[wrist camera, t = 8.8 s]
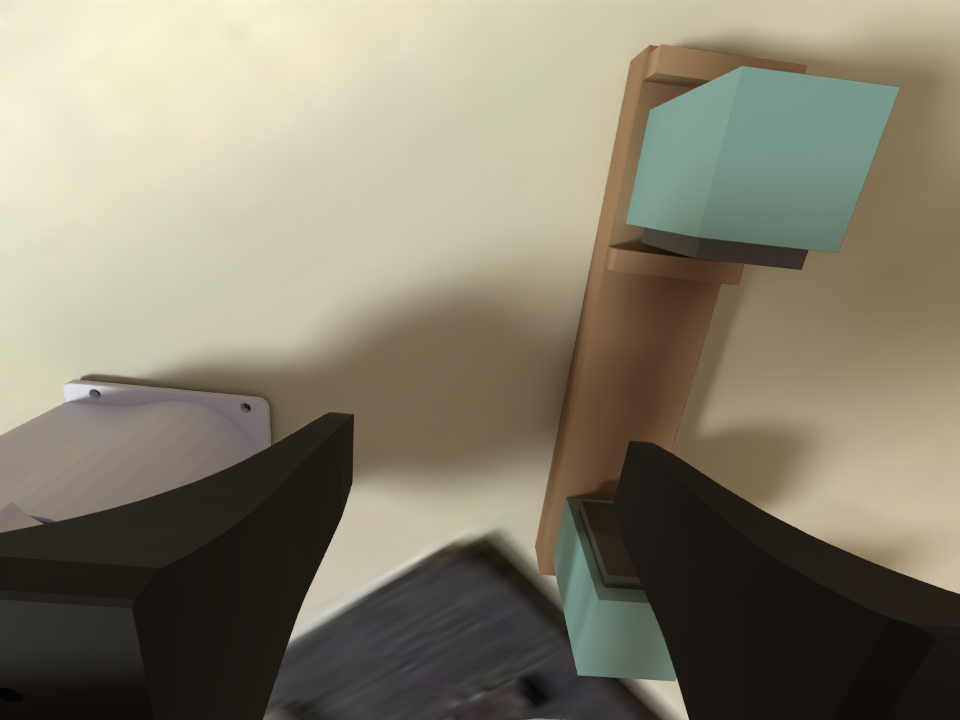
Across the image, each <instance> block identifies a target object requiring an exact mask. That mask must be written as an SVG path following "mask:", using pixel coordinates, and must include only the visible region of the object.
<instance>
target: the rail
mask: <svg viewBox="0 0 960 720" xmlns="http://www.w3.org/2000/svg"><path fill="white" fill-rule="evenodd" d="M742 66H746V67H753V68H761V69H768V70H776V71H783V72H790V73H798V74H805V70H806V67H807V65H800V64H793V63H786V62H779V61H772V60H765V59H758V58H751V57H744V56H738V55H731V54H724V53H717V52H710V51H703V50H696V49H689V48H682V47H675V46H668V45H660V46H652V45H649V46H648V47H647V48H646V49H645V50H643V51H642V52H641V53H640V54H639V55H637V56H636V57H635V58H634V59H633V60H632V61H631V63H630V68H629V73H628V78H627V83H626V88H625V93H624V99H623V104H622V109H621V114H620V119H619V124H618V129H617V134H616V139H615V144H614V149H613V154H612V159H611V165H610V170H609V175H608V180H607V185H606V190H605V195H604V200H603V205H602V210H601V215H600V220H599V225H598V230H597V236H596V241H595V246H594V251H593V256H592V261H591V266H590V271H589V276H588V281H587V286H586V291H585V296H584V302H583V307H582V312H581V317H580V322H579V327H578V332H577V337H576V342H575V347H574V352H573V357H572V362H571V368H570V373H569V378H568V383H567V388H566V393H565V398H564V403H563V408H562V413H561V418H560V423H559V428H558V434H557V439H556V444H555V449H554V454H553V459H552V464H551V469H550V474H549V479H548V484H547V489H546V494H545V500H544V505H543V510H542V515H541V520H540V525H539V530H538V535H537V540H536V545H535V549H536V554H537V560H538V565H539V571H540V575H554V576H556V578H557V583H558V587H559V592H560V596H561V601H562V605H563V610H564V614H565V619H566V623H567V628H568V633H569V637H570V642H571V646H572V651H573V655H574V660H575V664H576V669H577V673H578V675H585V676H600V677H616V678H631V679H647V680H663V681H675V680H676V674H675V671H674V667H673V664H672V661H671V658H670V655H669V652H668V649H667V646H666V643H665V640H664V637H663V634H662V632H661V629H660V627H659V624H658V622H657V619H656V617H655V615H654V612H653V610H652V608H651V605H650V603H649V601H648V599H647V596H646V594H645V592H644V589H643V587H642V585H641V583H640V580H639V578H638V576H637V573H636V571H635V569H634V567H633V564H632V562H631V559H630V557H629V555H628V552H627V550H626V548H625V545H624V543H623V540H622V537H621V534H620V530H619V527H618V524H617V520H616V516H615V512H614V508H613V502H614V498H615V494H616V490H617V486H618V483H619V479H620V475H621V471H622V467H623V463H624V460H625V456H626V452H627V448H628V444H629V440H630V441H641V442H651V443H654V444H656V445H658V446H660V447H662V448H664V449H665V450H667V451H669V452H670V453H671V449H672V446H673V443H674V439H675V436H676V433H677V429H678V426H679V422H680V419H681V416H682V412H683V409H684V406H685V402H686V399H687V396H688V392H689V389H690V386H691V382H692V379H693V376H694V372H695V369H696V366H697V362H698V359H699V356H700V352H701V349H702V346H703V342H704V339H705V336H706V332H707V329H708V326H709V322H710V319H711V316H712V312H713V309H714V306H715V302H716V299H717V296H718V292H719V289H720V285H721V284H730V285H739V281H740V278H741V275H742V272H743V269H744V264H740V263H734V262H725V261H716V260H707V259H698V258H693V257H689V256H686V255H682V254H679V253H675V252H672V251H668V250H665V249H661V248H658V247H654V246H651V245H647V244H644V243H641V242H642V237H643V233H644V228H645V227H641V226H636V225H630V224H626V221H627V216H628V212H629V207H630V202H631V197H632V193H633V188H634V183H635V178H636V173H637V169H638V164H639V159H640V154H641V150H642V145H643V140H644V135H645V131H646V126H647V121H648V116H649V111H650V110H651V109H653V108H655V107H657V106H659V105H661V104H664V103H666V102H668V101H670V100H672V99H674V98H676V97H678V96H680V95H682V94H685V93H687V92H689V91H691V90H693V89H695V88H697V87H699V86H701V85H704V84H706V83H708V82H710V81H712V80H714V79H716V78H718V77H720V76H723V75H725V74H727V73H729V72H731V71H733V70H735V69H737V68H739V67H742Z"/></svg>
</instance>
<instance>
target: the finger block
mask: <svg viewBox="0 0 960 720" xmlns="http://www.w3.org/2000/svg"><path fill="white" fill-rule="evenodd" d="M899 88H900V87H895V86H887V85H880V84H873V83H865V82H858V81H850V80H843V79H835V78H828V77H820V76H813V75H805V74H798V73H790V72H783V71H776V70H768V69H761V68H753V67H746V66H742V67H739V68H737V69H735V70H733V71H731V72H729V73H727V74H725V75H723V76H720V77H718V78H716V79H714V80H712V81H710V82H708V83H706V84H704V85H701V86H699V87H697V88H695V89H693V90H691V91H689V92H687V93H685V94H682V95H680V96H678V97H676V98H674V99H672V100H670V101H668V102H666V103H664V104H661V105H659V106H657V107H655V108H653V109H651V110H650V111H649V116H648V121H647V126H646V131H645V135H644V140H643V145H642V150H641V154H640V159H639V164H638V169H637V173H636V178H635V183H634V188H633V193H632V197H631V202H630V207H629V212H628V216H627V221H626V224H630V225H636V226H641V227H645V228H644V233H643V237H642V242H641V243H644V244H647V245H651V246H654V247H658V248H661V249H665V250H668V251H672V252H675V253H679V254H682V255H686V256H689V257H693V258H698V259H707V260H716V261H725V262H734V263H743V264H752V265H761V266H770V267H779V268H789V269H798V270H802V267H803V264H804V261H805V259H806V256H807V253H808V250H816V251H824V252H833V253H838V252H839V249H840V247H841V244H842V241H843V238H844V236H845V233H846V230H847V228H848V225H849V222H850V220H851V217H852V214H853V212H854V209H855V206H856V204H857V201H858V198H859V196H860V193H861V190H862V187H863V185H864V182H865V179H866V177H867V174H868V171H869V169H870V166H871V163H872V161H873V158H874V155H875V153H876V150H877V147H878V145H879V142H880V139H881V136H882V134H883V131H884V128H885V126H886V123H887V120H888V118H889V115H890V112H891V110H892V107H893V104H894V102H895V99H896V96H897V94H898V91H899Z"/></svg>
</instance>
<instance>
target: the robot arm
mask: <svg viewBox="0 0 960 720" xmlns="http://www.w3.org/2000/svg"><path fill="white" fill-rule="evenodd" d="M96 390H98V391H99V392H100V394H101V395H99V394H98V393H97V392H96ZM63 393H64V397H65V403H63V404H61V405H59V406H57V407H55V408H53V409H51V410H49V411H48V412H46V413H44V414H42V415H40V416H38V417H36V418H34V419H32V420H30V421H28V422H26V423H24V424H22V425H20V426H18V427H16V428H14V429H12V430H10V431H8V432H6V433H5V434H3V435H1V436H0V720H263V717H264V714H265V711H266V708H267V705H268V702H269V698H270V695H271V692H272V689H273V686H274V683H275V680H276V677H277V674H278V671H279V668H280V665H281V662H282V659H283V656H284V653H285V650H286V647H287V645H288V642H289V639H290V636H291V633H292V630H293V627H294V624H295V621H296V619H297V616H298V613H299V611H300V608H301V606H302V603H303V601H304V598H305V596H306V594H307V592H308V589H309V587H310V585H311V583H312V581H313V579H314V576H315V574H316V572H317V570H318V568H319V566H320V564H321V561H322V559H323V557H324V555H325V553H326V551H327V548H328V546H329V544H330V542H331V540H332V538H333V535H334V533H335V531H336V529H337V527H338V524H339V522H340V520H341V518H342V515H343V512H344V509H345V505H346V502H347V499H348V496H349V492H350V489H351V485H352V478H353V430H354V415H353V414H343V413H332V412H329V413H327V414H325V415H323V416H322V417H320V418H318V419H316V420H315V421H313V422H311V423H310V424H308V425H306V426H305V427H303V428H301V429H300V430H298V431H296V432H295V433H293V434H291V435H290V436H288V437H286V438H284V439H283V440H281V441H279V442H278V443H276V444H274V445H272V446H271V428H270V408H269V404H268V402H267V401H266V400H265V399H263V398H261V397H255V396H245V395H234V394H224V393H213V392H203V391H192V390H181V389H171V388H160V387H150V386H139V385H129V384H118V383H108V382H97V381H87V380H72V381H70V382H68V383H66V384H65V385H64V386H63ZM244 403H246V404H248V405H249V406H250V407H251V409H250V410H249V409H247V408H245V407H244ZM613 508H614V512H615V516H616V520H617V524H618V527H619V530H620V534H621V537H622V540H623V543H624V545H625V548H626V550H627V552H628V555H629V557H630V559H631V562H632V564H633V567H634V569H635V571H636V573H637V576H638V578H639V580H640V583H641V585H642V587H643V589H644V592H645V594H646V596H647V599H648V601H649V603H650V605H651V608H652V610H653V612H654V615H655V617H656V619H657V622H658V624H659V627H660V629H661V632H662V634H663V637H664V640H665V643H666V646H667V649H668V652H669V655H670V658H671V661H672V664H673V667H674V671H675V674H676V677H677V680H678V683H679V686H680V690H681V693H682V697H683V700H684V703H685V707H686V710H687V714H688V717H689V720H960V594H958V593H955V592H951V591H948V590H945V589H942V588H939V587H936V586H933V585H931V584H928V583H925V582H923V581H920V580H917V579H914V578H912V577H909V576H906V575H904V574H901V573H898V572H895V571H893V570H890V569H888V568H885V567H883V566H880V565H878V564H875V563H873V562H870V561H867V560H865V559H863V558H860V557H858V556H856V555H853V554H851V553H849V552H847V551H844V550H842V549H840V548H837V547H835V546H833V545H830V544H828V543H826V542H824V541H822V540H820V539H817V538H815V537H813V536H811V535H809V534H807V533H805V532H803V531H801V530H799V529H797V528H795V527H793V526H791V525H789V524H787V523H785V522H783V521H781V520H780V519H778V518H776V517H774V516H772V515H770V514H768V513H767V512H765V511H763V510H761V509H759V508H758V507H756V506H754V505H753V504H751V503H749V502H748V501H746V500H744V499H743V498H741V497H739V496H737V495H736V494H734V493H733V492H731V491H729V490H728V489H726V488H724V487H723V486H721V485H720V484H718V483H717V482H715V481H713V480H712V479H710V478H709V477H707V476H706V475H704V474H703V473H701V472H700V471H698V470H697V469H695V468H694V467H692V466H690V465H689V464H687V463H686V462H684V461H683V460H681V459H680V458H678V457H677V456H675V455H673V454H672V453H670V452H669V451H667V450H665V449H664V448H662V447H660V446H658V445H656V444H654V443H651V442H641V441H630V440H629V444H628V448H627V452H626V456H625V460H624V463H623V467H622V471H621V475H620V479H619V483H618V486H617V490H616V494H615V498H614V502H613ZM529 720H553V719H529Z"/></svg>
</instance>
